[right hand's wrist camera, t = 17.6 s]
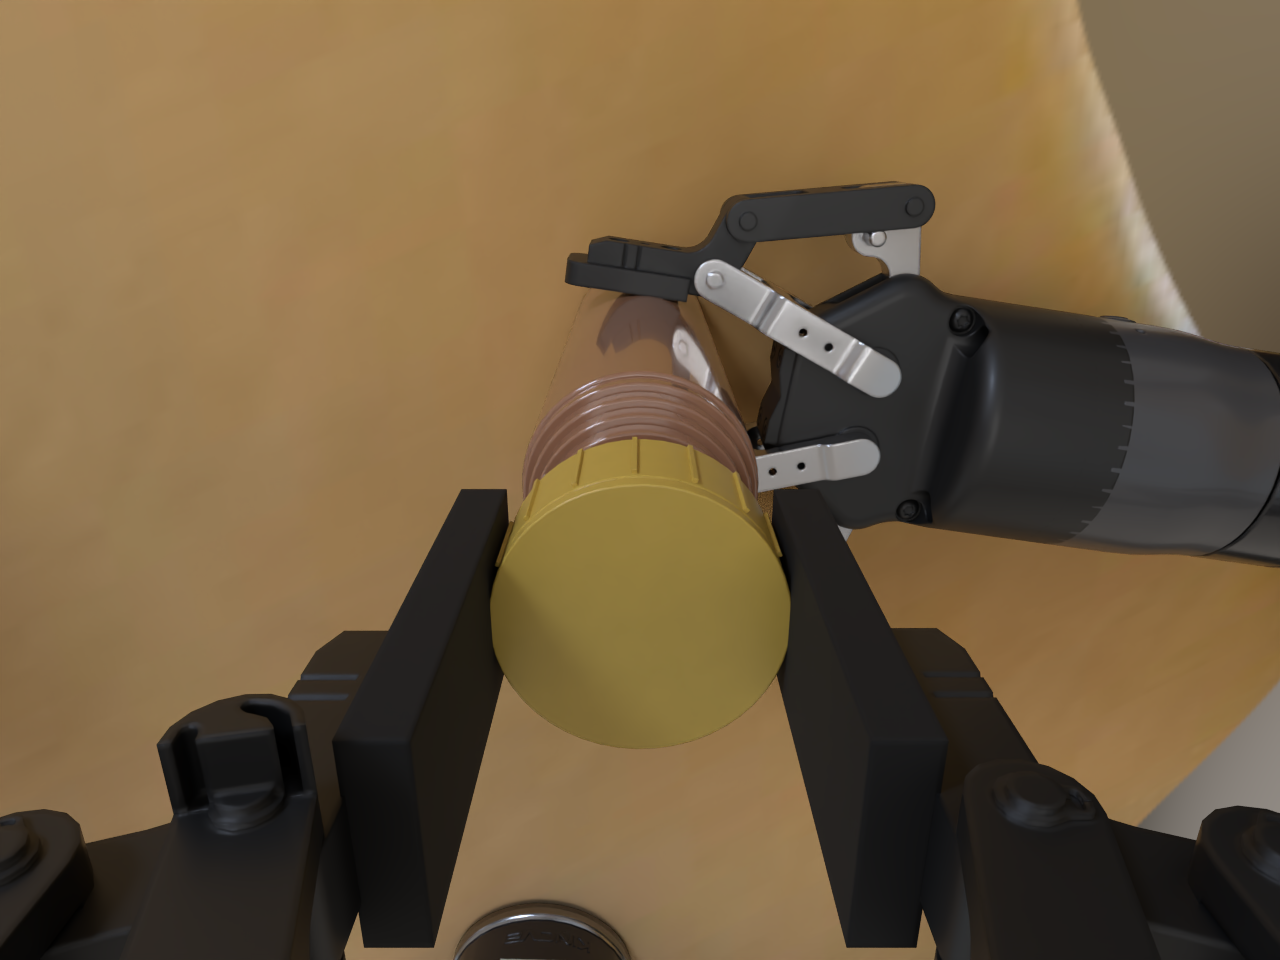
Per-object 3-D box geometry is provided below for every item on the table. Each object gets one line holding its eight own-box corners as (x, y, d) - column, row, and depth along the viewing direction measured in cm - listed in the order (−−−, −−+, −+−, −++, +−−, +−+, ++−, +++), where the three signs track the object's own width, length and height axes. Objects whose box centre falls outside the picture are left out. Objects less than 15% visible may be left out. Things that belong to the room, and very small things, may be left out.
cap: (800, 458, 14) (826, 508, 12) (744, 691, 16) (759, 767, 14) (521, 416, 14) (502, 460, 12) (494, 658, 16) (473, 730, 14)
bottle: (554, 354, 34) (429, 659, 14) (613, 239, 32) (570, 396, 12) (664, 412, 35) (698, 779, 15) (727, 303, 33) (862, 547, 13)
